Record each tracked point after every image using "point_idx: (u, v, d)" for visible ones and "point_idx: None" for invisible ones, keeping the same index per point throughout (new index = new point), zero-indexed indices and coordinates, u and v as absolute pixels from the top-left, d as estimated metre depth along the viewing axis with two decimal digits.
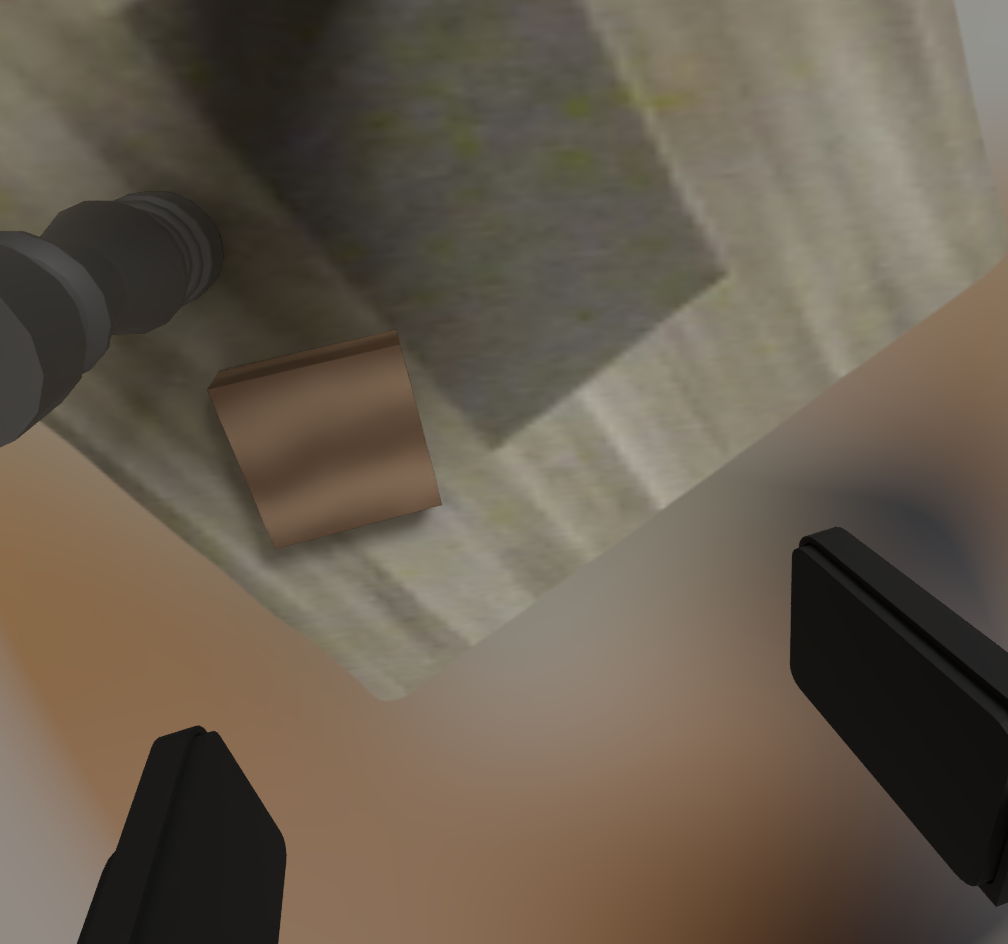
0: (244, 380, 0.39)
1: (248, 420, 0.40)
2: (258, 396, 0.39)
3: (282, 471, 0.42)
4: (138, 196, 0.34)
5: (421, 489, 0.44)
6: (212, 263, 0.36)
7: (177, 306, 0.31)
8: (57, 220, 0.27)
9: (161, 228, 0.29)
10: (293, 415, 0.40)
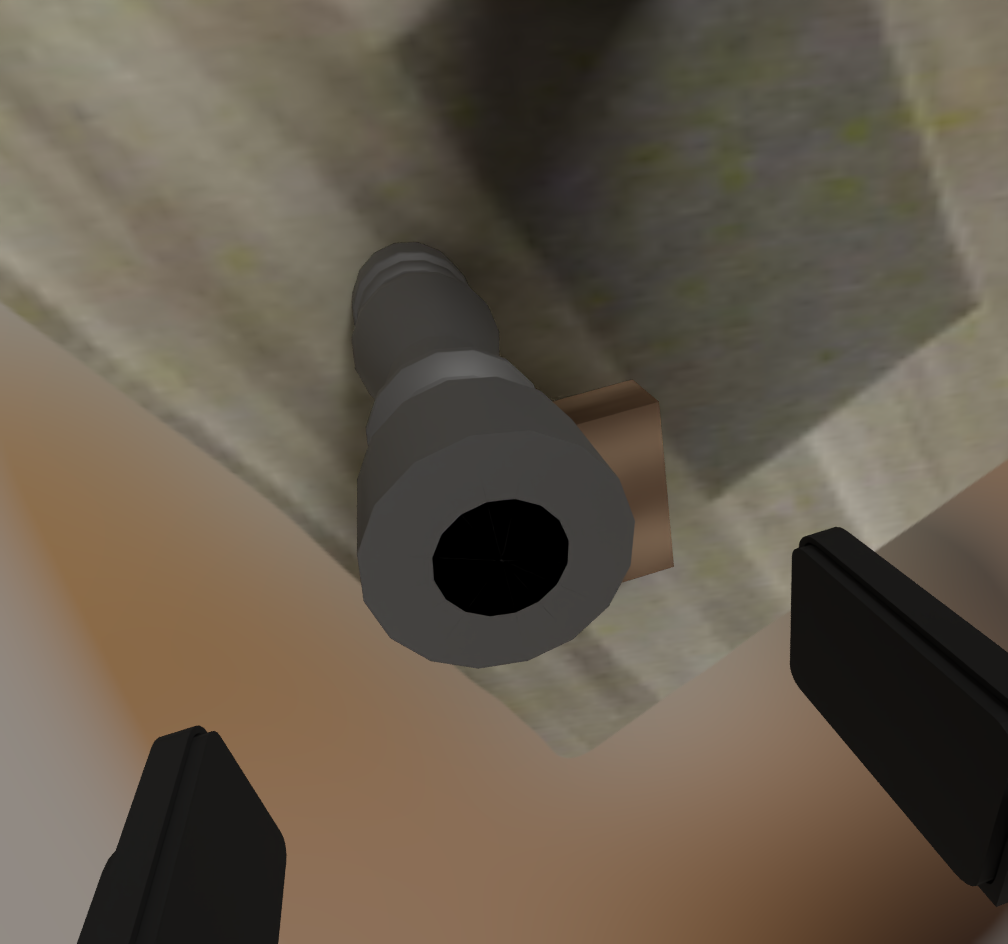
0: None
1: None
2: None
3: None
4: (409, 254, 0.30)
5: (656, 552, 0.41)
6: None
7: None
8: (395, 302, 0.23)
9: (483, 301, 0.26)
10: None
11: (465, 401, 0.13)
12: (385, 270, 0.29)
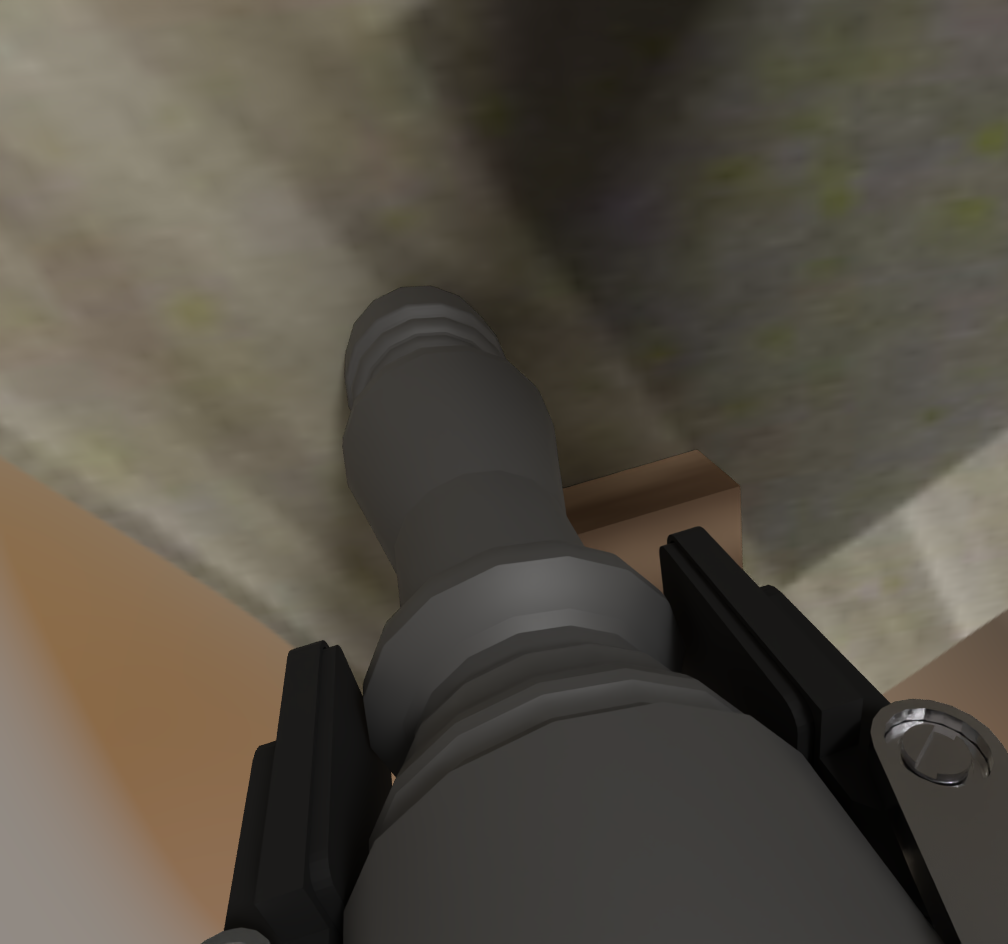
0: None
1: None
2: None
3: None
4: (421, 307, 0.22)
5: None
6: None
7: None
8: (408, 401, 0.15)
9: (533, 386, 0.18)
10: None
11: (627, 865, 0.05)
12: (389, 332, 0.21)
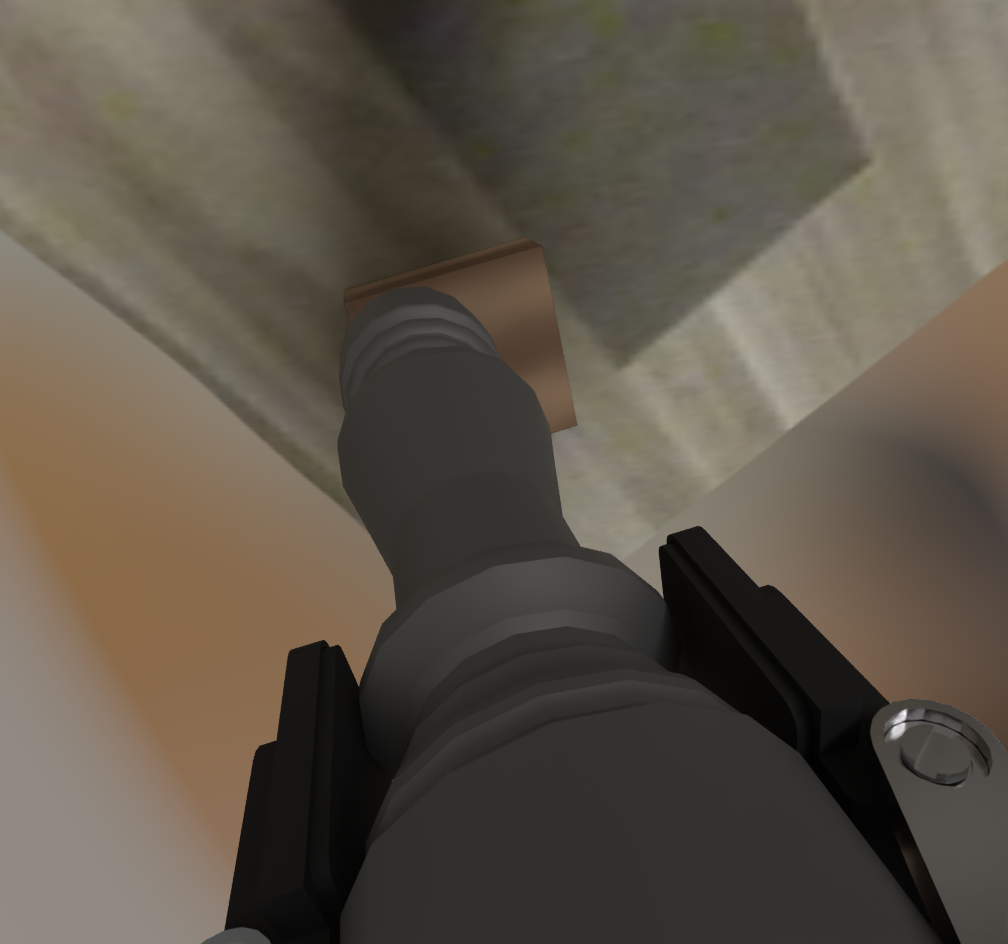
0: (380, 292, 0.36)
1: None
2: None
3: None
4: (417, 307, 0.22)
5: (557, 409, 0.42)
6: None
7: None
8: (403, 402, 0.15)
9: (529, 386, 0.18)
10: None
11: (627, 866, 0.05)
12: (384, 333, 0.21)
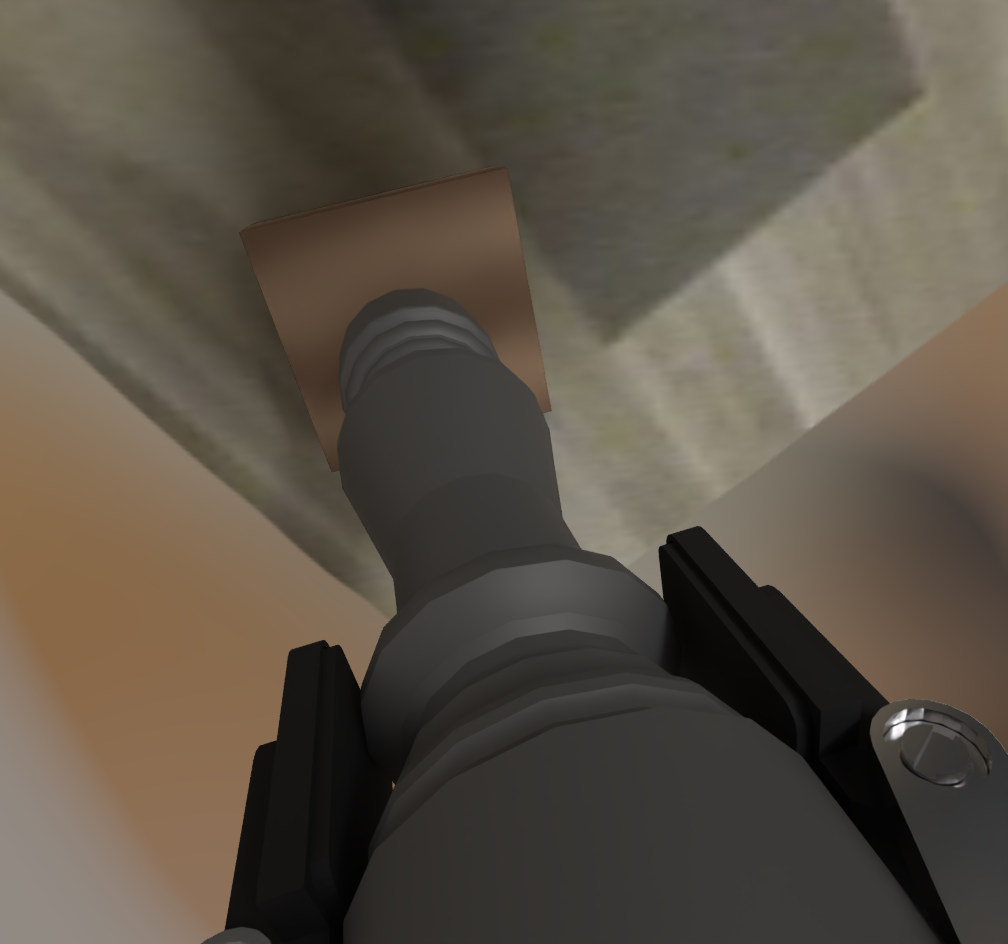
0: (290, 220, 0.27)
1: (297, 281, 0.28)
2: (310, 244, 0.28)
3: None
4: (415, 309, 0.22)
5: None
6: None
7: None
8: (403, 404, 0.15)
9: (528, 388, 0.18)
10: (359, 274, 0.29)
11: (632, 871, 0.05)
12: (383, 334, 0.21)
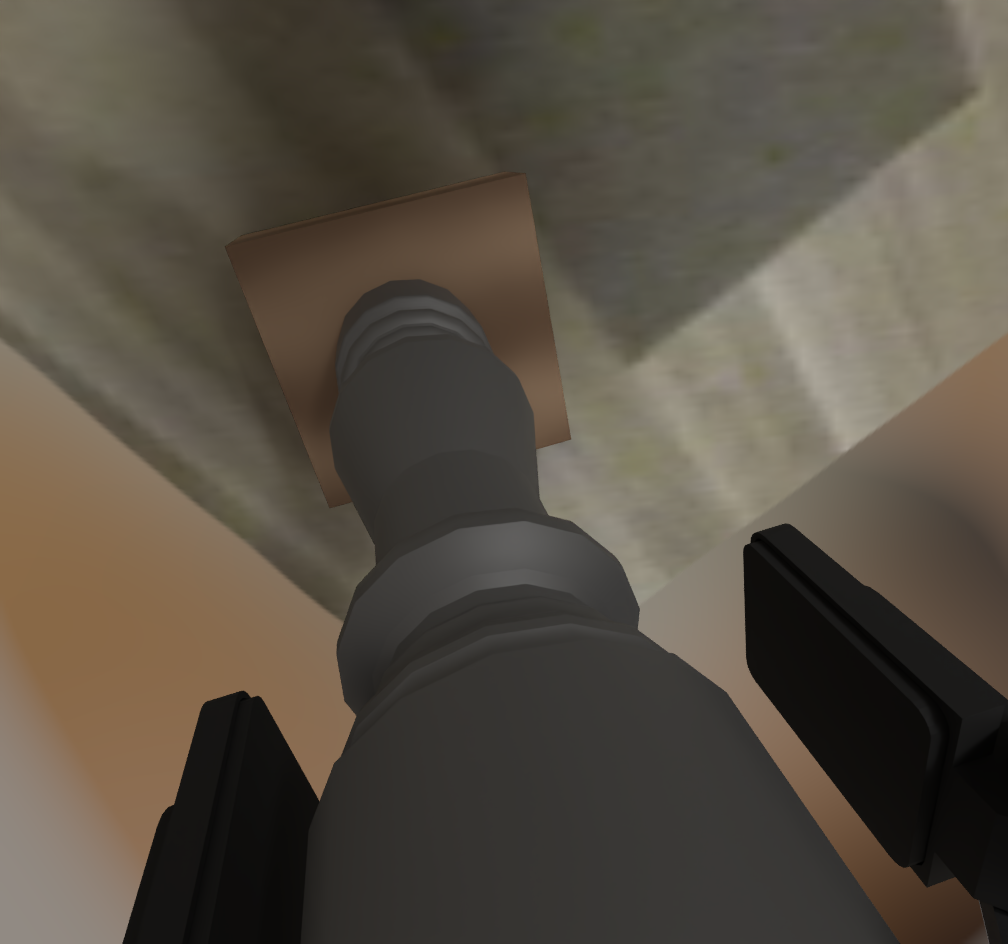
0: (282, 232, 0.24)
1: (290, 301, 0.25)
2: (305, 258, 0.25)
3: None
4: (409, 299, 0.23)
5: (544, 415, 0.30)
6: None
7: None
8: (390, 386, 0.16)
9: (513, 373, 0.18)
10: (359, 292, 0.26)
11: (542, 763, 0.06)
12: (377, 323, 0.22)
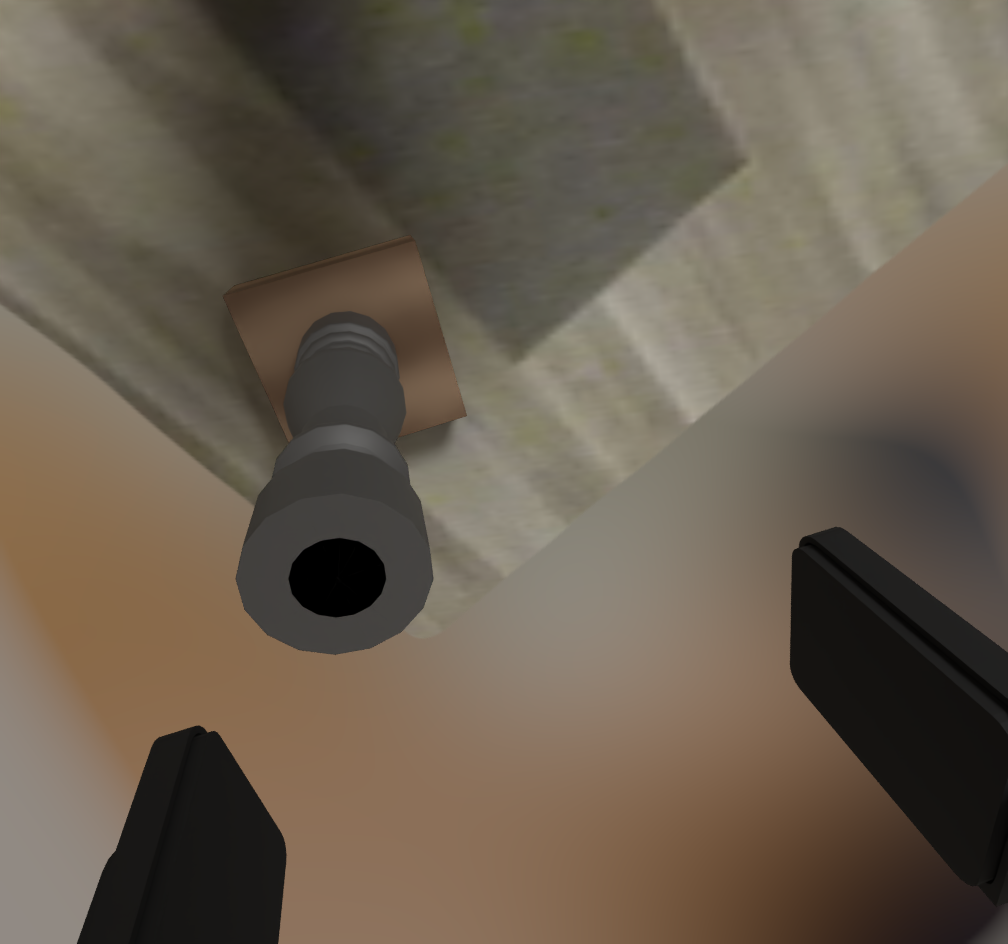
0: (259, 285, 0.38)
1: (266, 328, 0.39)
2: (274, 301, 0.38)
3: None
4: (338, 325, 0.36)
5: (445, 399, 0.43)
6: (399, 377, 0.39)
7: None
8: (311, 376, 0.30)
9: (388, 368, 0.32)
10: (311, 321, 0.39)
11: (311, 472, 0.19)
12: (316, 341, 0.35)
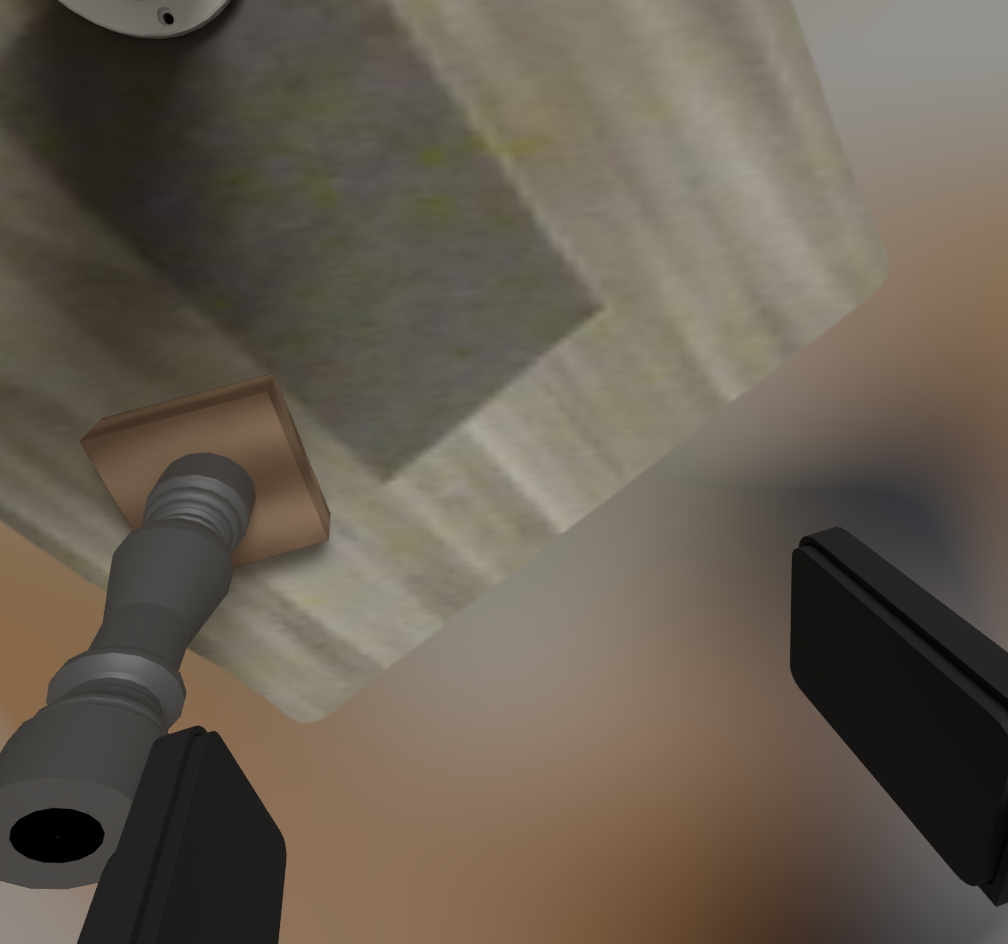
0: (116, 430, 0.40)
1: (124, 468, 0.41)
2: (131, 445, 0.41)
3: None
4: (184, 477, 0.39)
5: (306, 526, 0.46)
6: (248, 519, 0.41)
7: (224, 596, 0.36)
8: (127, 559, 0.32)
9: (210, 540, 0.34)
10: (169, 461, 0.42)
11: (39, 739, 0.22)
12: (159, 497, 0.38)
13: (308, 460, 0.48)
